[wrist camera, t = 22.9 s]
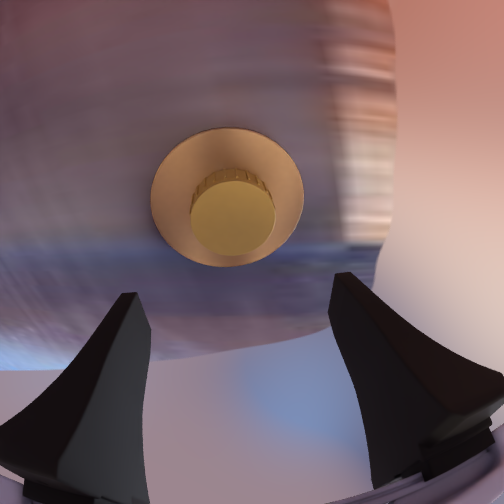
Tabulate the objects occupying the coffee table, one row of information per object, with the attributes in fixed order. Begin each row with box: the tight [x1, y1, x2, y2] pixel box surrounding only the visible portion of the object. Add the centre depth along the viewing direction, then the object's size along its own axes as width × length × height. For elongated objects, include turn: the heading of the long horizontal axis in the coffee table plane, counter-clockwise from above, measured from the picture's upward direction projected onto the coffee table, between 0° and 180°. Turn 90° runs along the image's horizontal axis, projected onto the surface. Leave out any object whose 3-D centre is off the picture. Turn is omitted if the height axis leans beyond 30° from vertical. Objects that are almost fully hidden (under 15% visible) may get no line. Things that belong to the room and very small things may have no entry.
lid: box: [189, 168, 276, 256], centre depth 17 cm, size 5×5×2 cm
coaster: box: [150, 127, 304, 267], centre depth 18 cm, size 9×9×1 cm
